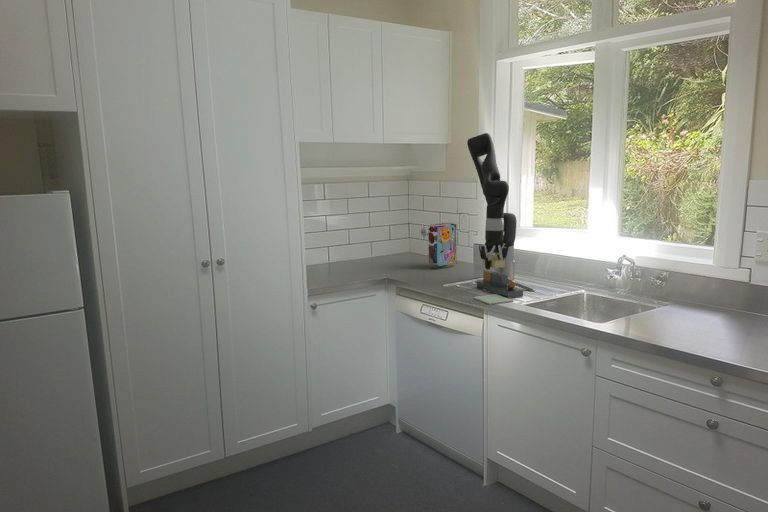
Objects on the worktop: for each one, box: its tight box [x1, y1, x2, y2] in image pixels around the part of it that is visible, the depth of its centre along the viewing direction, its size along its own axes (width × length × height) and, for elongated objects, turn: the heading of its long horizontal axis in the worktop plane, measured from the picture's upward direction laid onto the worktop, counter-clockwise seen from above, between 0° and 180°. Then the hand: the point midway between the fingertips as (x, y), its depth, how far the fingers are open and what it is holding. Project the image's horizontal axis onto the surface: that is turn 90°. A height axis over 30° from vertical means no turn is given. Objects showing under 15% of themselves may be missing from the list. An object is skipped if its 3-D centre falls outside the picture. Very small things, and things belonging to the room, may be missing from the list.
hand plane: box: [476, 269, 524, 299], centre depth 251 cm, size 8×24×8 cm, turn 24°
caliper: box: [507, 278, 536, 292], centre depth 258 cm, size 20×1×6 cm, turn 47°
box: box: [420, 222, 458, 270], centre depth 304 cm, size 25×6×24 cm, turn 129°
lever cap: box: [481, 254, 505, 269], centre depth 234 cm, size 5×9×4 cm, turn 24°
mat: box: [472, 293, 514, 306], centre depth 237 cm, size 12×12×1 cm
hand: (493, 268), depth 235 cm, fingers closed on lever cap, 5 cm apart
